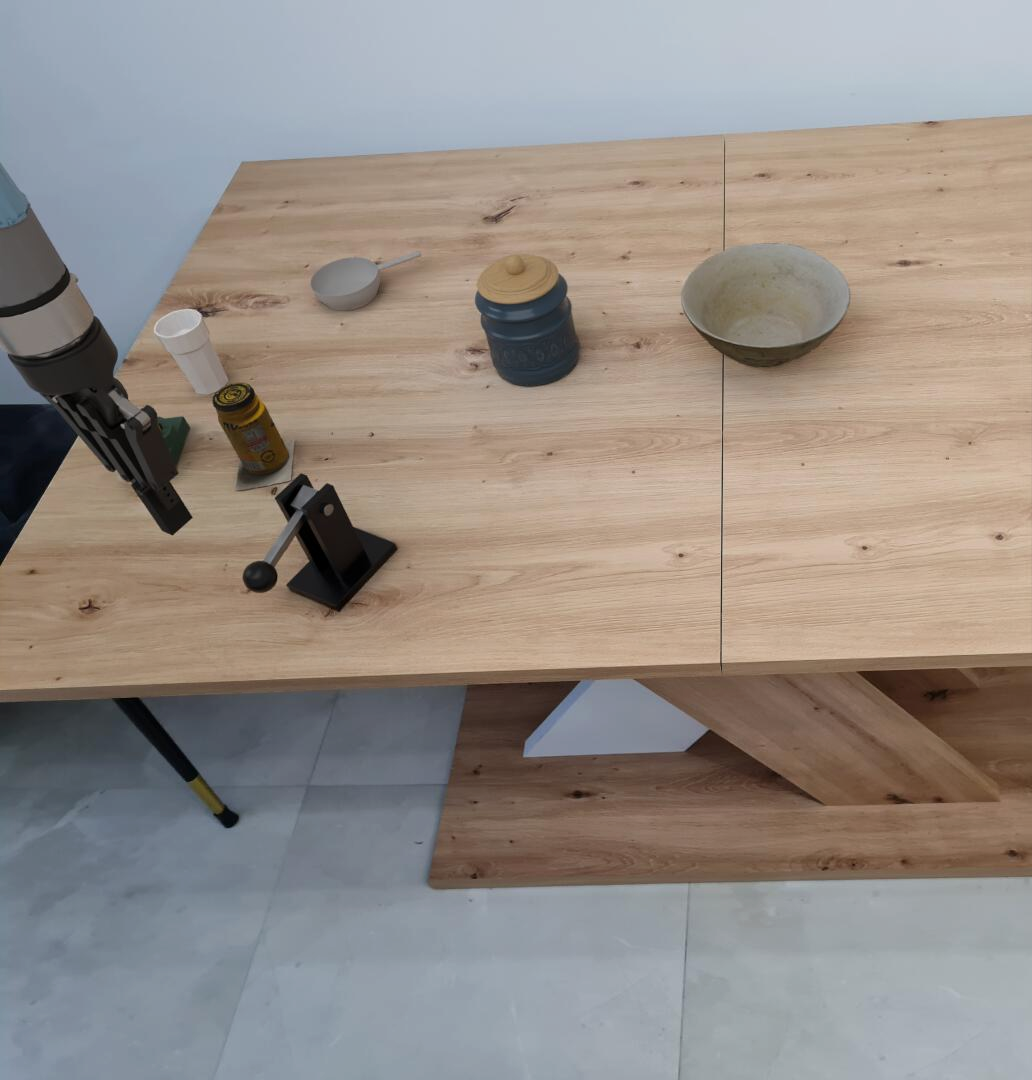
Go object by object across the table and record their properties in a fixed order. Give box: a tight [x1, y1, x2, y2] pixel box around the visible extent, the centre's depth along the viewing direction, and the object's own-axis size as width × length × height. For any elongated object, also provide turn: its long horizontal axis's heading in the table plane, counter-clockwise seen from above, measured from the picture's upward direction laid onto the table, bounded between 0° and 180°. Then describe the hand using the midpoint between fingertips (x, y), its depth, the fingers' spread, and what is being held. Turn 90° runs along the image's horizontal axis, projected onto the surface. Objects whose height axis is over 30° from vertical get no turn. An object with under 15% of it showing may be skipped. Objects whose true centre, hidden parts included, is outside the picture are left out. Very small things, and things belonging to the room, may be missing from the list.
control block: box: [157, 415, 191, 467], centre depth 145 cm, size 10×6×4 cm, turn 6°
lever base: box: [274, 472, 398, 613], centre depth 124 cm, size 11×8×14 cm
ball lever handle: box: [242, 485, 319, 594], centre depth 119 cm, size 13×4×4 cm, turn 152°
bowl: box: [680, 242, 851, 369], centre depth 149 cm, size 24×24×10 cm
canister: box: [474, 253, 581, 387], centre depth 148 cm, size 13×13×18 cm
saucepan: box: [309, 250, 423, 311], centre depth 169 cm, size 11×18×4 cm, turn 114°
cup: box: [153, 308, 230, 395], centre depth 152 cm, size 7×7×11 cm
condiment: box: [212, 382, 295, 491], centre depth 139 cm, size 7×8×12 cm
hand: (177, 524), depth 105 cm, fingers closed
